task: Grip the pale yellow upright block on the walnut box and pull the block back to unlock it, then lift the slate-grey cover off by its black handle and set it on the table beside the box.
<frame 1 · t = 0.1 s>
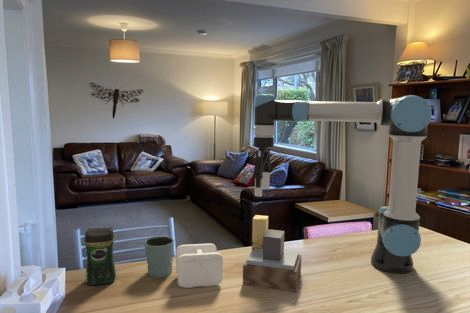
hand: (262, 192, 144), 28 cm above the table, tool pointing down, fingers open, 13 cm apart
pale yellow upright block: (259, 231, 141), point 14 cm above the table, slide at 0.0 cm
white rounded double-panel block: (198, 282, 130), on the table
walnut box: (272, 278, 133), on the table
coffee jar: (101, 281, 129), on the table
teal cup: (159, 273, 137), on the table
cover: (273, 259, 132), point 7 cm above the table, touching walnut box
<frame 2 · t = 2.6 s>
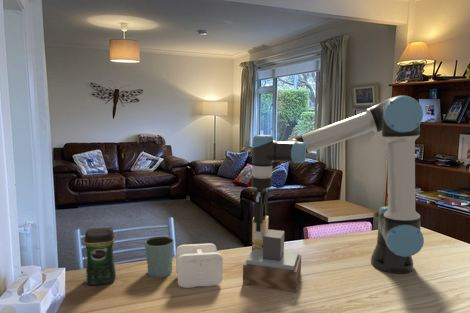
hand: (260, 236, 143), 11 cm above the table, tool pointing down, fingers closed on pale yellow upright block, 5 cm apart
pale yellow upright block: (259, 231, 141), point 14 cm above the table, slide at 0.0 cm, touching gripper
everything else where it was.
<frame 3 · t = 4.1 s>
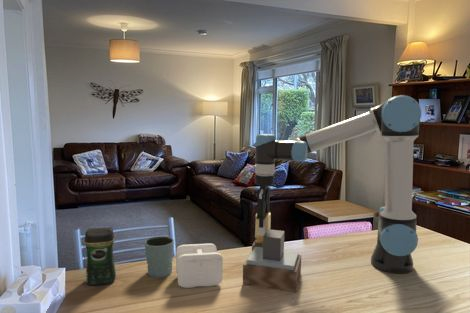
hand: (262, 232, 148), 11 cm above the table, tool pointing down, fingers closed on pale yellow upright block, 5 cm apart
pale yellow upright block: (262, 227, 146), point 14 cm above the table, slide at 4.9 cm, touching gripper
everything else where it was.
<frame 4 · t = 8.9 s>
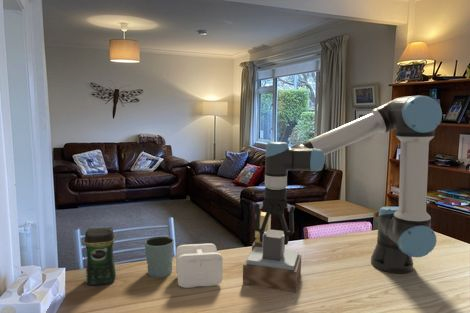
hand: (273, 251, 132), 10 cm above the table, tool pointing down, fingers closed on cover, 6 cm apart
pale yellow upright block: (262, 227, 146), point 14 cm above the table, slide at 4.9 cm
cover: (273, 259, 132), point 7 cm above the table, touching gripper, walnut box
everything else where it was.
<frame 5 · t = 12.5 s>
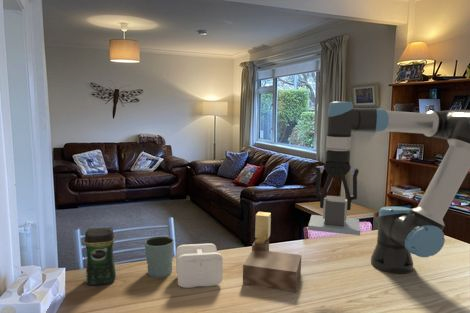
hand: (334, 218, 126), 24 cm above the table, tool pointing down, fingers closed on cover, 6 cm apart
cover: (334, 226, 126), point 21 cm above the table, touching gripper
everything else where it was.
when the fingers open (4 cm above the table, at t = 16.4 s): cover drops 2 cm, on the table.
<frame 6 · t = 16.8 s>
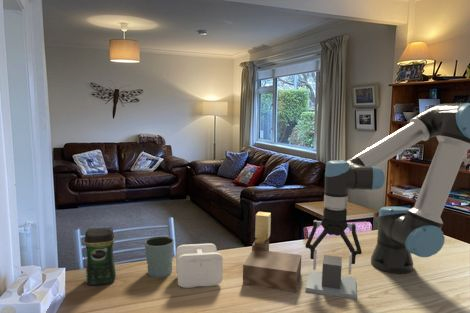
hand: (331, 270, 128), 5 cm above the table, tool pointing down, fingers open, 11 cm apart
cover: (331, 286, 129), on the table
everything else where it was.
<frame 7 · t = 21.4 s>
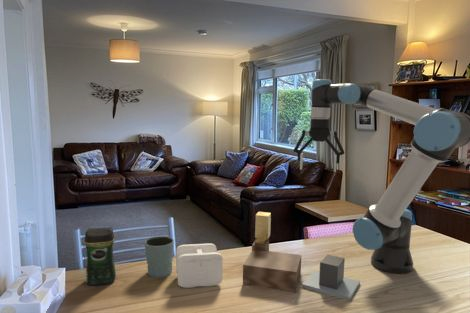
hand: (317, 170, 155), 35 cm above the table, tool pointing down, fingers open, 13 cm apart
at the end: pale yellow upright block slide at 4.9 cm; cover inside the target area (0.1 cm from its centre), on the table; cover tilted 0° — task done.
